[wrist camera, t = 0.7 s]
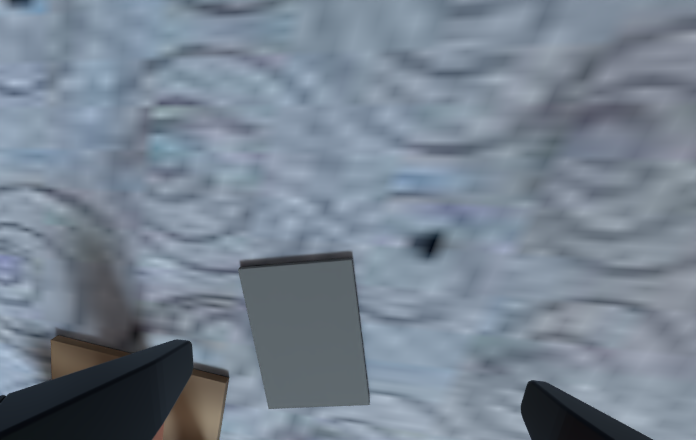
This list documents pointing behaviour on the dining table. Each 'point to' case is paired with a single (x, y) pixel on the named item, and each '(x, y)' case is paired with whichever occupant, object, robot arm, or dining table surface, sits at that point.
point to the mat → (307, 333)
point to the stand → (190, 408)
